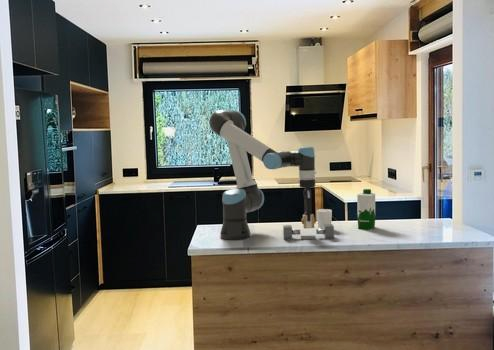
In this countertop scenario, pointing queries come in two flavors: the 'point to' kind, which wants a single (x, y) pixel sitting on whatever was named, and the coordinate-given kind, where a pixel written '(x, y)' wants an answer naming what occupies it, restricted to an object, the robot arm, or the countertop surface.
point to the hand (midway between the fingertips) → (308, 226)
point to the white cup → (323, 217)
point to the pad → (308, 237)
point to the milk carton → (366, 209)
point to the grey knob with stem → (327, 231)
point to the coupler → (305, 221)
